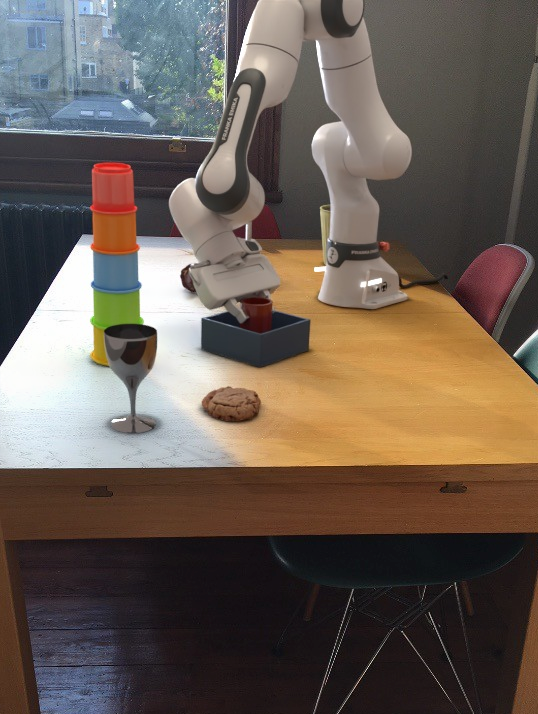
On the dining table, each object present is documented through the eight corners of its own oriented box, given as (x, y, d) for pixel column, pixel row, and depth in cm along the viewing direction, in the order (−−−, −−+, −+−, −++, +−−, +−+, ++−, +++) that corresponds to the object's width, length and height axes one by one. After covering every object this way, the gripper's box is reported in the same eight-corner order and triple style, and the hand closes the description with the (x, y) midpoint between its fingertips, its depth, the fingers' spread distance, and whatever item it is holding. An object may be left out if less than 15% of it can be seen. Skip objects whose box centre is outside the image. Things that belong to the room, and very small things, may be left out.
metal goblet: (109, 414, 141) (105, 323, 134) (159, 414, 142) (157, 323, 135) (106, 434, 134) (101, 338, 127) (158, 434, 135) (156, 339, 128)
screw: (254, 250, 257) (238, 249, 258) (257, 247, 262) (241, 246, 262) (256, 204, 251) (239, 203, 252) (259, 201, 255) (242, 200, 256)
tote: (251, 333, 183) (252, 304, 180) (308, 350, 175) (310, 319, 172) (201, 349, 173) (201, 317, 170) (259, 367, 164) (261, 334, 161)
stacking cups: (154, 354, 169) (150, 162, 153) (130, 370, 160) (124, 169, 144) (106, 347, 172) (97, 158, 155) (80, 362, 163) (68, 164, 147)
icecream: (209, 272, 203) (217, 264, 217) (179, 262, 203) (189, 255, 216) (201, 301, 206) (210, 291, 219) (171, 291, 205) (182, 282, 219)
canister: (258, 339, 177) (260, 295, 173) (276, 348, 173) (278, 302, 169) (233, 344, 174) (234, 299, 170) (251, 352, 170) (252, 306, 165)
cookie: (216, 425, 139) (217, 407, 137) (193, 402, 147) (193, 385, 146) (273, 418, 143) (274, 400, 141) (248, 395, 151) (248, 379, 150)
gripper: (193, 255, 162) (231, 318, 161) (264, 241, 176) (299, 299, 175) (176, 275, 166) (213, 336, 165) (246, 260, 180) (281, 316, 179)
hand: (258, 317), depth 170 cm, fingers closed on canister, 6 cm apart
